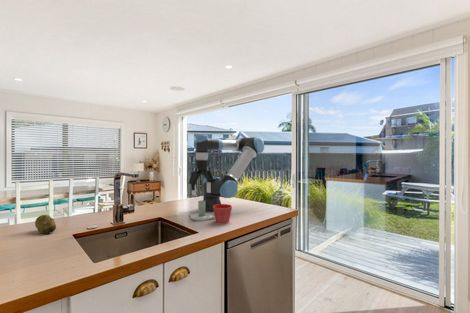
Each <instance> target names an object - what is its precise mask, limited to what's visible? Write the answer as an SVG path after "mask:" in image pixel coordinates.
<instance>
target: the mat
mask: <svg viewBox="0 0 470 313" xmlns="http://www.w3.org/2000/svg"><path fill="white" fill-rule="evenodd" d="M190 216H191V215H188V217H189V219H190V220H191V222H198V221H197V220H192V219H191V218H190ZM213 220H214V221H216V220H215V216H213V218H212V219H210V220H209V221H213ZM205 221H207V220H205ZM205 221H204V222H205Z"/></svg>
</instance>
